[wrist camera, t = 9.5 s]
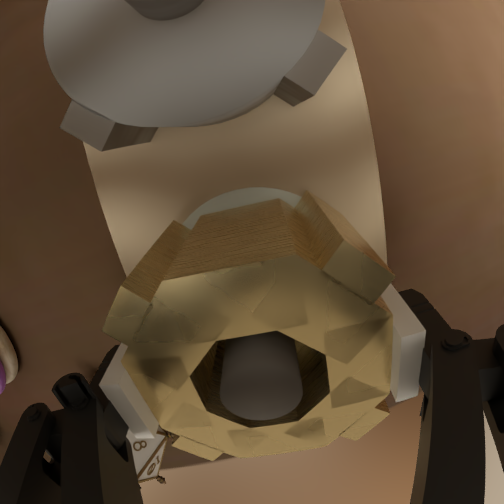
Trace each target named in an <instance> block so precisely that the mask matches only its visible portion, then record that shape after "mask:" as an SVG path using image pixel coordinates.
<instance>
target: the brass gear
mask: <svg viewBox="0 0 504 504" xmlns="http://www.w3.org/2000/svg"><path fill="white" fill-rule="evenodd" d="M395 277H396V276H395V275H394V273H393V272H392V271H391V270H390V269H389V267H388V266H387V265H386V264H385V263H384V261H383V260H382V259H381V258H380V257H379V256H378V254H377V253H376V252H375V251H374V250H373V249H372V247H371V246H370V245H369V244H368V243H367V242H366V240H365V239H364V238H363V237H362V236H361V235H360V234H359V233H358V231H357V230H356V229H355V228H354V227H353V226H352V225H351V224H350V223H349V221H348V220H347V219H346V218H345V217H344V216H343V215H342V214H341V213H340V212H338V211H337V210H336V209H334V208H333V207H331V206H330V205H328V204H327V203H325V202H324V201H322V200H321V199H319V198H318V197H317V196H315V195H314V194H312V193H311V192H309V191H308V190H306V192H305V193H304V195H303V196H302V198H301V199H300V201H299V202H298V204H297V205H296V206H295V208H294V207H292V206H291V205H289V204H288V203H286V202H284V201H283V200H281V199H280V198H277V199H272V200H268V201H263V202H258V203H254V204H249V205H245V206H240V207H236V208H231V209H227V210H222V211H218V212H214V213H209V214H205V215H201V216H200V217H199V219H198V220H197V222H196V224H195V225H194V227H193V229H192V230H191V229H189V228H187V227H185V226H184V225H182V224H180V223H179V222H177V221H175V220H173V221H172V222H171V224H170V225H169V226H168V227H167V228H166V230H165V231H164V232H163V233H162V234H161V236H160V237H159V238H158V239H157V240H156V242H155V243H154V244H153V245H152V247H151V248H150V249H149V250H148V251H147V253H146V254H145V255H144V256H143V258H142V259H141V260H140V261H139V263H138V264H137V265H136V267H135V268H134V269H133V270H132V272H131V273H130V274H129V276H128V277H127V278H126V279H125V281H124V282H123V283H122V285H121V286H120V288H119V291H118V293H117V295H116V297H115V300H114V302H113V304H112V307H111V309H110V312H109V314H108V316H107V319H106V321H105V324H104V326H103V329H102V331H103V332H104V333H106V334H108V335H109V336H111V337H113V338H114V339H116V340H118V341H120V342H121V343H123V344H125V345H127V346H128V348H127V350H126V352H125V354H124V356H123V358H122V360H121V363H122V365H123V367H124V368H125V369H126V370H127V372H128V374H129V375H130V377H131V379H132V381H133V382H134V384H135V386H136V387H137V389H138V391H139V392H140V394H141V396H142V397H143V399H144V401H145V402H146V404H147V405H148V407H149V409H150V410H151V412H152V413H153V415H154V416H155V418H156V419H157V421H158V422H159V425H160V426H161V428H162V429H165V430H167V431H169V432H172V433H174V437H173V441H172V446H174V447H176V448H179V449H181V450H184V451H186V452H189V453H192V454H194V455H197V456H200V457H203V458H205V459H208V460H211V461H214V460H215V459H216V458H217V457H219V456H220V455H221V454H222V453H227V454H230V455H233V456H236V457H239V458H247V457H258V456H267V455H275V454H282V453H289V452H295V451H302V450H307V449H314V448H319V447H324V446H327V445H328V444H330V443H331V442H332V441H334V440H335V439H336V438H338V437H339V436H342V437H345V438H349V439H352V440H358V439H359V438H361V437H362V436H363V435H364V434H366V433H367V432H368V431H370V430H371V429H372V428H373V427H375V426H376V425H377V424H378V423H380V422H381V421H382V420H383V419H384V418H386V417H387V416H388V415H389V414H390V412H389V409H388V406H387V404H386V401H385V398H386V397H387V396H388V395H389V394H390V382H391V366H392V343H393V314H392V312H391V311H390V309H389V308H388V306H387V305H386V303H385V301H384V300H383V298H382V297H381V294H382V293H383V292H384V291H385V290H386V288H387V287H388V286H389V285H390V283H391V282H392V281H393V280H394V278H395ZM276 330H277V331H279V332H281V333H283V334H285V335H287V336H289V337H291V338H293V339H294V340H295V346H296V352H297V358H298V364H299V370H300V376H301V382H302V388H303V396H302V399H301V401H300V403H299V404H298V406H297V407H296V408H295V409H293V410H292V411H291V412H289V413H288V414H286V415H284V416H281V417H279V418H275V419H270V420H250V419H246V418H242V417H239V416H237V415H235V414H233V413H232V412H230V411H229V410H228V409H227V408H226V407H225V406H224V405H223V403H222V401H221V399H220V385H221V376H222V368H223V359H224V351H225V342H226V339H230V338H236V337H242V336H248V335H254V334H260V333H265V332H271V331H276Z"/></svg>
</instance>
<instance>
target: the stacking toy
mask: <svg viewBox="0 0 504 504" xmlns="http://www.w3.org/2000/svg"><path fill="white" fill-rule="evenodd" d="M17 372H18V360H17V356H16V352H15V350H14V347H13V345H12V343H11V341H10V339H9V338H8V336H7V334H6V333H5V331H4V330H3V329H2V327H1V326H0V394H1V393H2V392H3V390H4V388H5V385H6V384H8V383H10V382H11V381H12V380H14V378H15V377H16V375H17Z"/></svg>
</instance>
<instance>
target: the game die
mask: <svg viewBox="0 0 504 504" xmlns="http://www.w3.org/2000/svg"><path fill="white" fill-rule="evenodd" d="M126 437H127V439H128V440H129V441H130V444H131V447H132V452H133V458H134V463H135V468H136V473H137V478H138V483H141V482H145V481H148V480H152V479H155V478H156V479H157V481H159V482H160V483H166V482H165V478H163V477H162V476H159V475H158V474H159V470H160V466H161V462H162V458H163V454H164V451H165V447H166V443H167V439H168V437H171V438H173V437H174V433H172V432H168V433H167V432H166V431H165V430H164V429H162V428H161V426H160V425H158V429H157V433H156V436H155V438H136V437H135V436H134V435H133V433H132V432H131V431H130V429H128V432H127V435H126ZM139 487H140V485H139ZM140 489H141V487H140Z"/></svg>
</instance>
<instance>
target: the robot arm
mask: <svg viewBox="0 0 504 504" xmlns="http://www.w3.org/2000/svg"><path fill="white" fill-rule="evenodd" d="M381 297H382V298H383V300H384V301H385V303H386V305H387V306H388V308H389V309H390V311H391V312H392V314H393V343H392V366H391V382H390V389H391V392H392V394H393V396H394V399H395V401H396V402H399V401H402V400H406V399H409V398H412V397H415V396H417V395H418V389H419V384H420V386H421V388H422V390H423V392H424V398H423V402H422V407H421V412H420V416H422V419H421V430H420V441H419V449H418V457H417V464H416V471H415V477H414V484H413V489H412V495H411V500H410V504H484V495H485V431H484V415H483V411H484V413H485V416H486V418H487V421H488V424H489V427H490V430H491V433H492V436H493V439H494V441H495V445H496V448H497V451H498V454H499V458H500V461H501V464H502V468H503V472H504V324H503V325H501V326H500V327H499V328H498V329H497V331H496V335H495V338H490V339H481V340H472V338H471V336H470V335H468V334H467V333H466V332H463V331H461V330H455V329H451V328H450V326H449V325H448V324H447V323H446V321H445V320H444V319H443V318H442V317H441V315H440V314H439V313H438V312H437V311H436V309H434V307H433V306H432V305H431V304H430V303H429V301H428V300H427V299H426V298H425V297H424V295H423V294H421V293H419V292H417V291H415V290H413V289H409V290H405V291H401V292H397V291H396V289H395V288H394V287H393V285H392V284H391V283H390V285H389V286H388V287H387V288H386V290H385V291H384V292H383V293H382V294H381ZM127 348H128V346H127V345H125V344H123V343H121V344H120V345H115V346H114V347H113V348H112V349H111V350H110V351H109V352H108V353H107V354H106V356H105V358H104V359H103V361H102V362H103V363H101V365H100V367H99V370H97V372H96V374H95V376H94V378H93V379H92V381H91V383H90V385H89V384H88V382H87V381H86V379H85V378H84V376H83V375H82V374H80V373H70V374H67V375H65V376H63V377H62V378H60V379H59V380H58V381H57V382H56V383H55V384H54V386H53V388H52V392H53V393H54V395H55V396H56V398H57V399H58V400H59V402H60V403H61V404H62V406H63V407H64V409H61V410H57V411H52V412H51V411H50V409H49V408H48V407H47V405H45V404H44V403H36V404H33V405H30V406H29V407H28V408H27V409H26V410H25V411H24V413H23V414H22V416H21V418H20V420H19V422H18V425H17V427H16V429H15V432H14V434H13V436H12V439H11V441H10V443H9V446H8V448H7V451H6V453H5V456H4V458H3V461H2V464H1V466H0V504H143V500H142V496H141V492H140V487H139V483H138V478H137V473H136V468H135V463H134V458H133V452H132V447H131V444H130V441H129V440H128V439H127V437H126V435H127V432H128V429H130V431H131V432H132V433H133V435H134V436H135V437H136V438H155V436H156V433H157V429H158V425H159V422H158V421H157V419H156V418H155V416H154V415H153V413H152V412H151V410H150V409H149V407H148V405H147V404H146V402H145V401H144V399H143V397H142V396H141V394H140V392H139V391H138V389H137V387H136V386H135V384H134V382H133V381H132V379H131V377H130V375H129V374H128V372H127V370H126V369H125V368H124V367H123V365H122V363H121V360H122V358H123V356H124V354H125V352H126V350H127ZM45 451H46V452H47V453H48V455H49V456H50V457H51V461H50V462H47V461H46V460H45V459H44V458H43V456H44V452H45Z"/></svg>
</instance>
